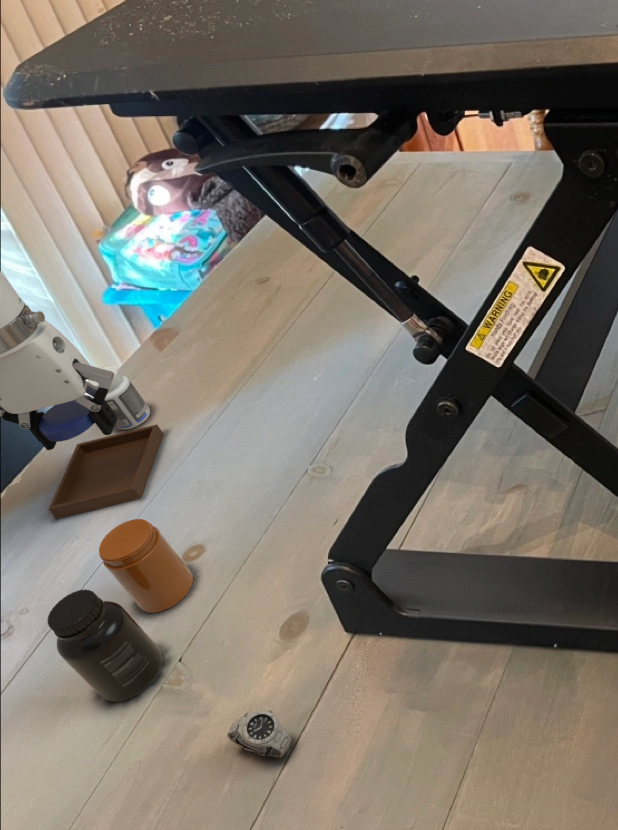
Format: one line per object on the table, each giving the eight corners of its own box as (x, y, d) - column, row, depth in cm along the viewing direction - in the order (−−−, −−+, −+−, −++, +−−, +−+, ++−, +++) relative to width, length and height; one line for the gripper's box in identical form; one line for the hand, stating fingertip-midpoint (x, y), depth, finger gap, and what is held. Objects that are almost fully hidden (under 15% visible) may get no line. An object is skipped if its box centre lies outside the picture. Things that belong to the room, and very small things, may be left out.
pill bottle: (146, 402, 152) (115, 358, 147) (155, 417, 149) (124, 373, 143) (112, 420, 150) (80, 377, 145) (121, 436, 147) (88, 392, 141)
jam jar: (133, 619, 120) (89, 568, 114) (145, 577, 125) (103, 525, 119) (188, 603, 121) (147, 551, 115) (197, 561, 125) (158, 510, 120)
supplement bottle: (166, 637, 117) (109, 570, 110) (163, 687, 112) (104, 620, 105) (102, 663, 116) (41, 597, 109) (97, 714, 111) (31, 649, 103)
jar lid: (100, 427, 133) (93, 418, 132) (44, 449, 131) (36, 441, 130) (101, 396, 138) (94, 387, 137) (47, 417, 136) (40, 409, 135)
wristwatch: (284, 768, 102) (261, 741, 99) (232, 757, 104) (208, 731, 101) (304, 734, 105) (282, 707, 101) (253, 724, 106) (230, 697, 103)
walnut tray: (56, 519, 136) (47, 509, 134) (84, 453, 145) (77, 443, 144) (141, 498, 136) (133, 488, 135) (163, 433, 145) (157, 424, 144)
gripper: (82, 293, 128) (157, 398, 139) (-60, 329, 128) (26, 431, 139) (62, 331, 122) (142, 438, 133) (-86, 369, 122) (6, 473, 133)
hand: (82, 434), depth 136 cm, fingers closed on jar lid, 6 cm apart
